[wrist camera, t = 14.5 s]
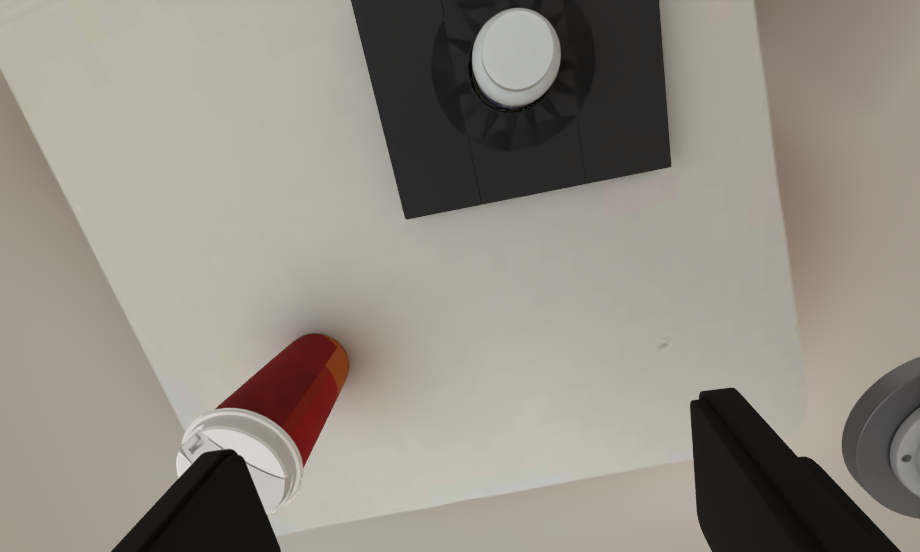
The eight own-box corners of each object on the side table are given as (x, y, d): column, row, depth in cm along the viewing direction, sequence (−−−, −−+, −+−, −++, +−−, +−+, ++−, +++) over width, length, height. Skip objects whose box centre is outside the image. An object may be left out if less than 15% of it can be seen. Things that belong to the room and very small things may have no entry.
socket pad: (640, -76, 31) (652, -93, 28) (659, 164, 35) (671, 166, 33) (359, 1, 33) (348, -9, 31) (411, 214, 38) (405, 219, 36)
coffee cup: (258, 356, 43) (142, 468, 29) (316, 304, 41) (220, 397, 27) (322, 415, 45) (240, 548, 31) (380, 368, 43) (322, 488, 29)
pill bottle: (499, 123, 35) (500, 122, 26) (462, 60, 34) (450, 34, 25) (562, 83, 34) (586, 66, 25) (526, 15, 33) (537, -29, 24)
